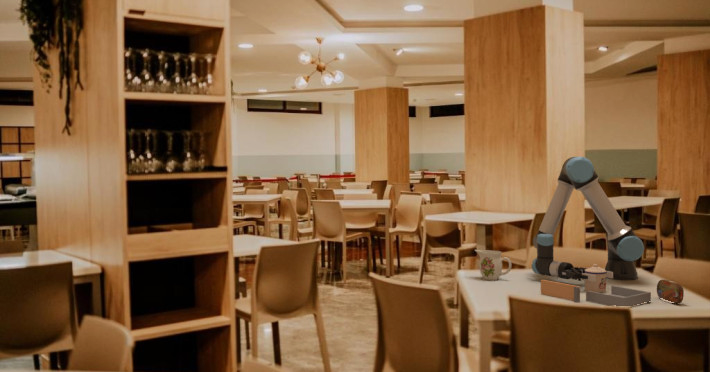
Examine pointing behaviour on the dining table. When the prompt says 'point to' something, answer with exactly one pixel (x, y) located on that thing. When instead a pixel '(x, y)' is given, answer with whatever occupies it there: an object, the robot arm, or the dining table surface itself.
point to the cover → (557, 289)
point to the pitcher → (492, 264)
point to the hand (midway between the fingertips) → (604, 276)
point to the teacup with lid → (600, 279)
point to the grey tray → (615, 296)
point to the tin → (670, 291)
